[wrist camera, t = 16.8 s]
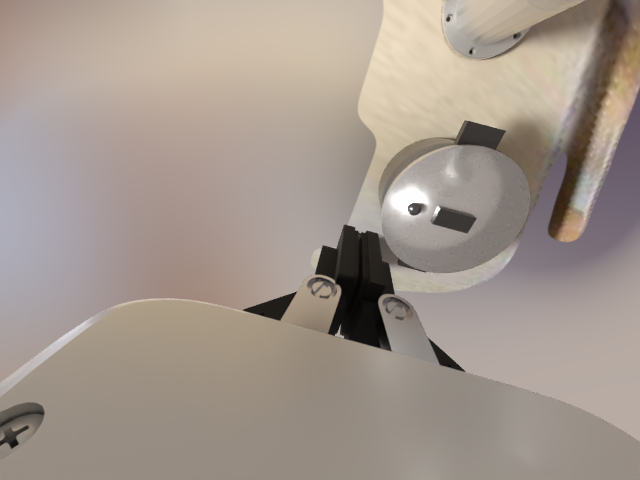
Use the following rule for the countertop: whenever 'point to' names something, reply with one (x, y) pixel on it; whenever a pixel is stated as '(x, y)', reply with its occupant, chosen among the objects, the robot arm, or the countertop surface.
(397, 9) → the countertop surface
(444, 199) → the lid
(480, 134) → the cooker pot
